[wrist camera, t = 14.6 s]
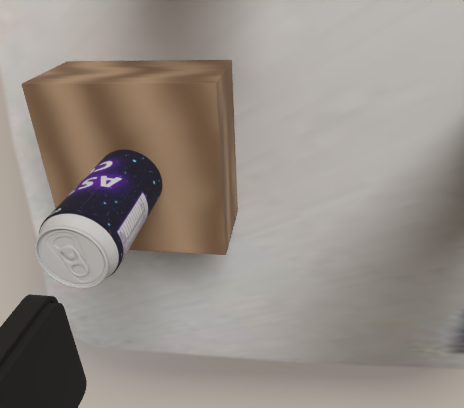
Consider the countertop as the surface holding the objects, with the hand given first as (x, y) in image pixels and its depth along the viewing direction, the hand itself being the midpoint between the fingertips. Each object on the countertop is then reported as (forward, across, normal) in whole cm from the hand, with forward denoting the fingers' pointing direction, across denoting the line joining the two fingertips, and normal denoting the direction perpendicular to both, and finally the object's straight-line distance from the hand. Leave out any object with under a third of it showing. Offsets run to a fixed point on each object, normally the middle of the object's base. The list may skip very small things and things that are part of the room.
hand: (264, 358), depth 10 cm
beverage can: (+26, +14, +9) cm, 31 cm away
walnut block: (+34, +14, +9) cm, 38 cm away
